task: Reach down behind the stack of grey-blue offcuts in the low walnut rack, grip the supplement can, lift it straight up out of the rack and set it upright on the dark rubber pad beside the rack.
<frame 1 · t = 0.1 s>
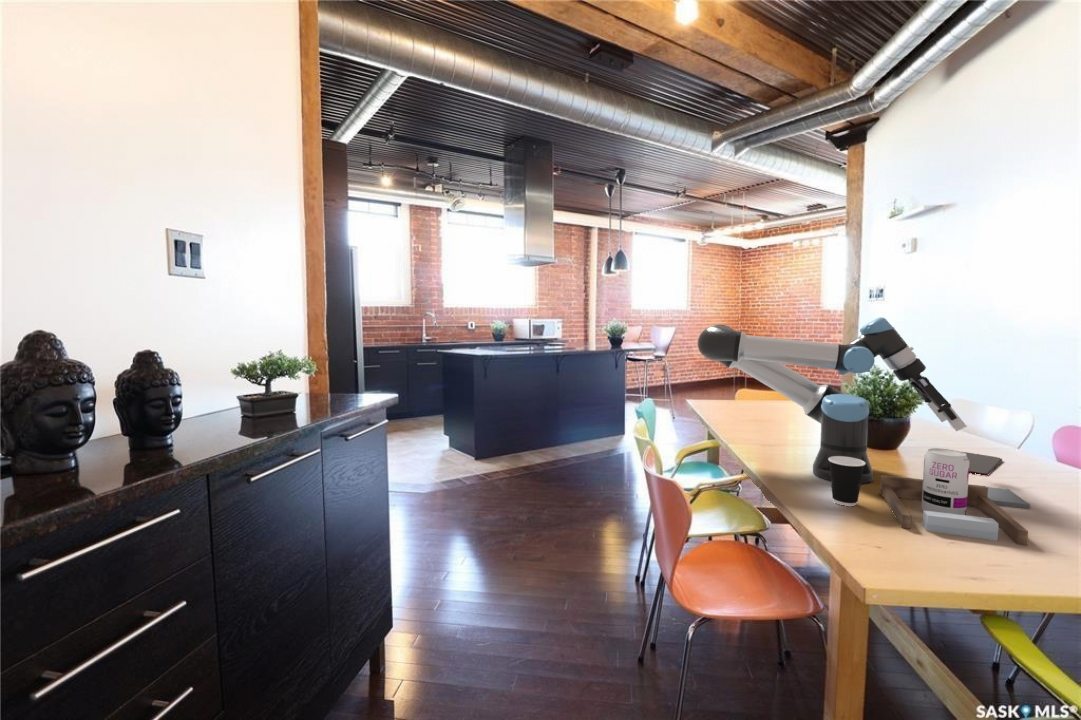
hand: (953, 424, 145), 15 cm above the table, tool tilted 35°, fingers open, 13 cm apart
offcut upper: (959, 525, 107), point 2 cm above the table
smartphone: (969, 466, 157), on the table
rack: (943, 514, 117), on the table
offcut lower: (958, 534, 107), on the table
dixie cup: (844, 504, 125), on the table
supplement can: (943, 515, 117), resting in rack
pad: (988, 497, 128), on the table
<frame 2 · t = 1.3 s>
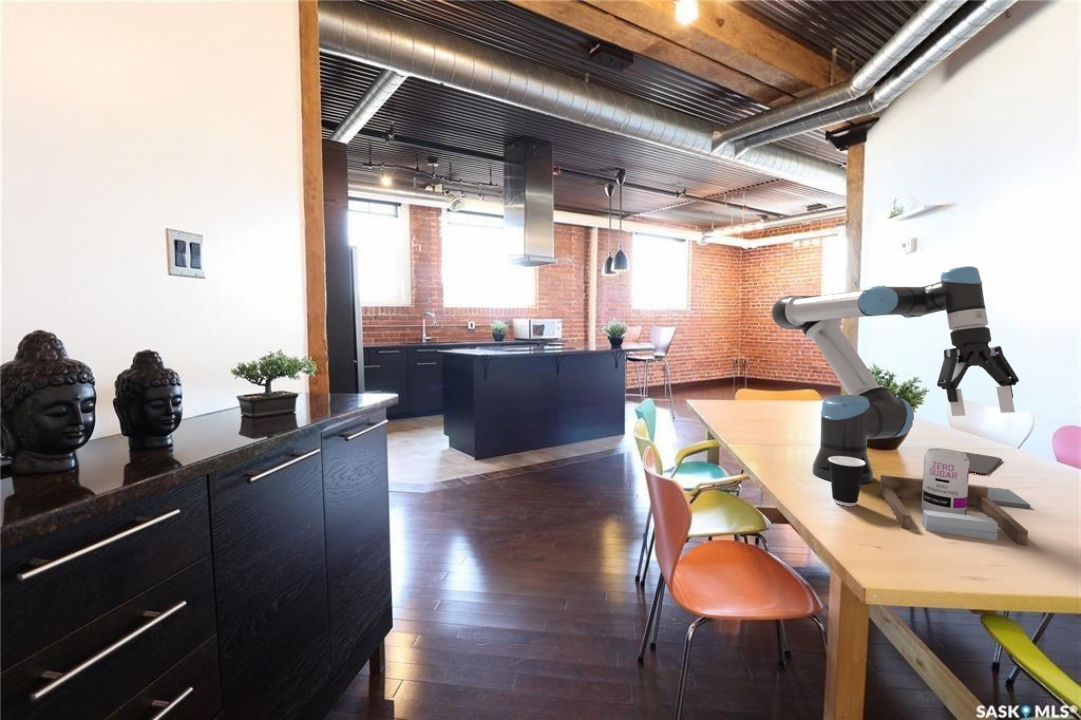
hand: (983, 414, 121), 23 cm above the table, tool pointing down, fingers open, 13 cm apart
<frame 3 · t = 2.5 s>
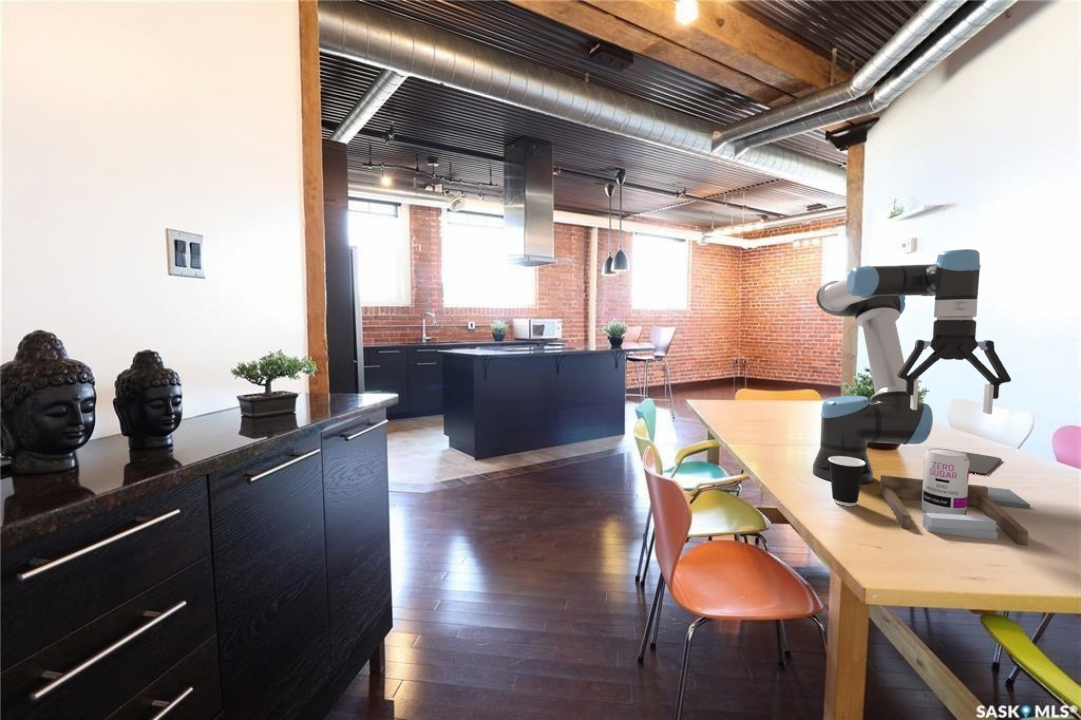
hand: (949, 411, 115), 25 cm above the table, tool pointing down, fingers open, 13 cm apart
offcut upper: (958, 526, 107), point 1 cm above the table, touching offcut lower
offcut lower: (958, 535, 107), on the table, touching offcut upper
everything else where it was.
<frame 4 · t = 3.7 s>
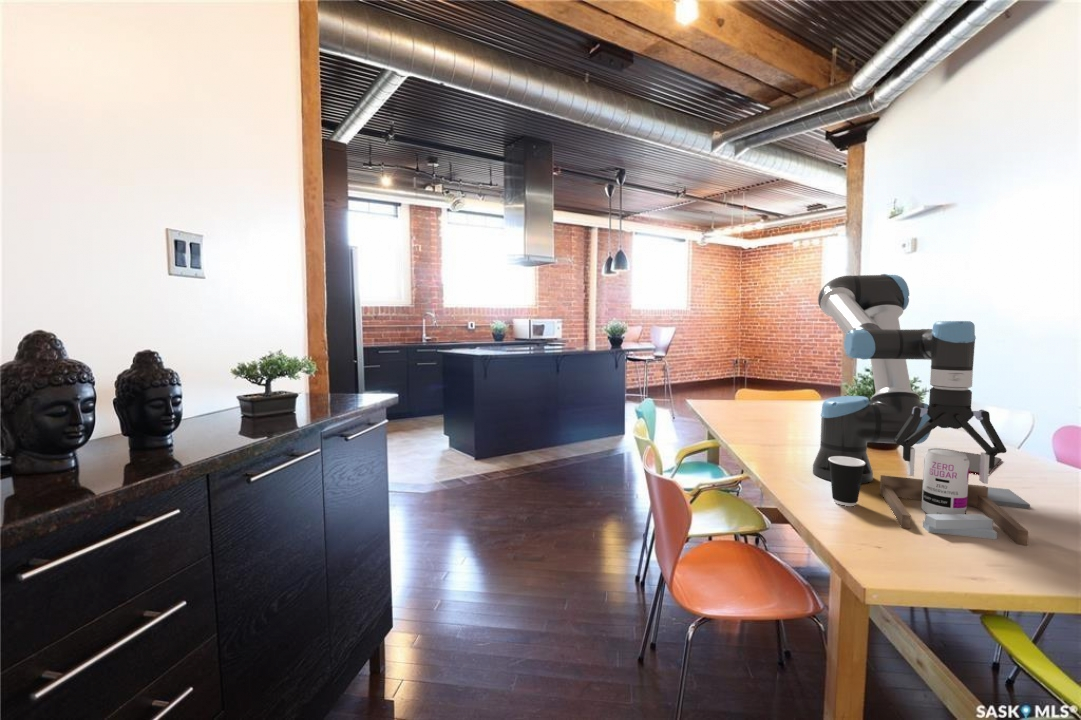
hand: (946, 478, 116), 9 cm above the table, tool pointing down, fingers open, 13 cm apart
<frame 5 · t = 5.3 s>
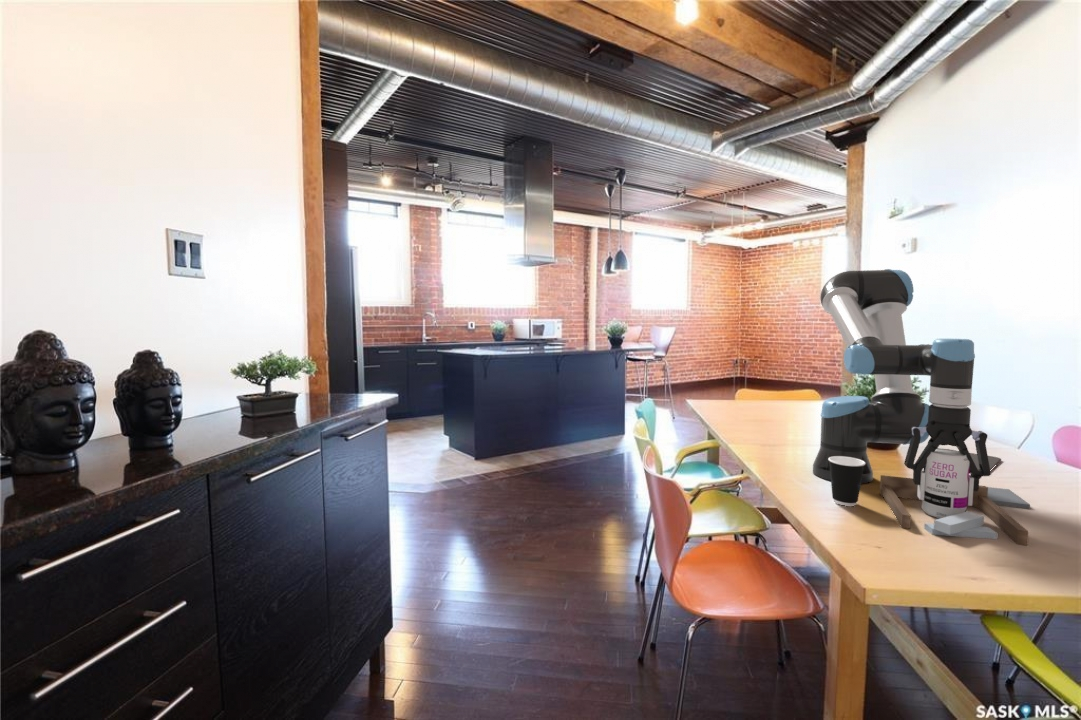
hand: (943, 500, 117), 3 cm above the table, tool pointing down, fingers closed on supplement can, 8 cm apart
supplement can: (943, 515, 117), resting in rack, touching gripper
when the fingers open (6 cm above the table, at t = 14.0 s): supplement can drops 1 cm, resting on pad.
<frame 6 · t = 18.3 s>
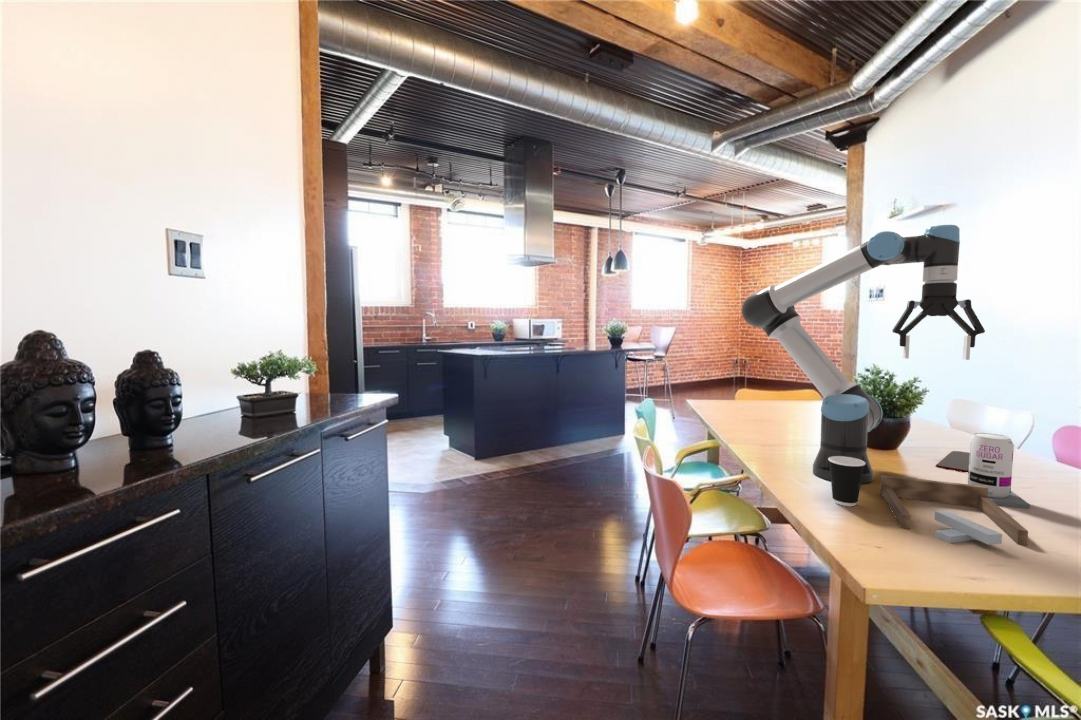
hand: (935, 358, 140), 35 cm above the table, tool pointing down, fingers open, 13 cm apart
offcut upper: (966, 530, 105), point 1 cm above the table, touching offcut lower
offcut lower: (964, 539, 105), on the table, touching offcut upper
supplement can: (988, 494, 128), point 1 cm above the table, touching pad
everything else where it was.
at the end: supplement can inside the target area (0.1 cm from its centre), point 0.8 cm above the table; supplement can tilted 0°; offcut upper moved 2.3 cm from its start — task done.
